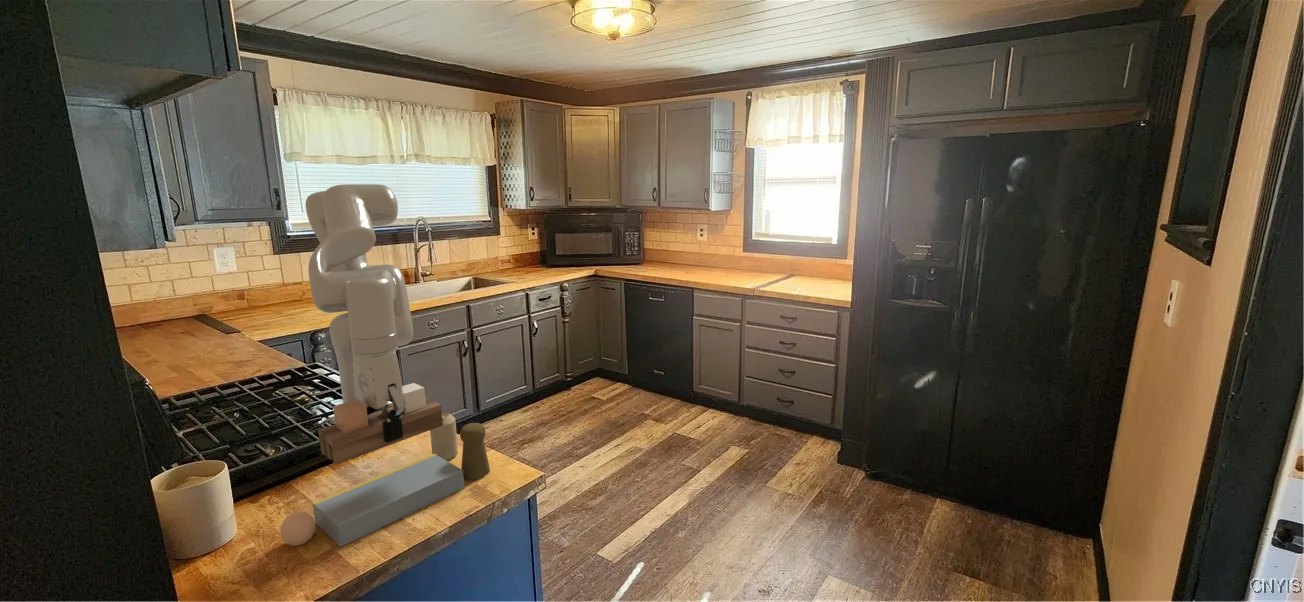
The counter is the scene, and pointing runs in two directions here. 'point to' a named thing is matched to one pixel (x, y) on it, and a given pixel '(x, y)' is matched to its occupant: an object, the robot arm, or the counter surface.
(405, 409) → the white cube
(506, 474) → the counter surface
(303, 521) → the egg
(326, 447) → the brown wooden bar
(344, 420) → the salmon pink cube
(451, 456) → the candle
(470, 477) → the olive pepper mill
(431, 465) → the block
